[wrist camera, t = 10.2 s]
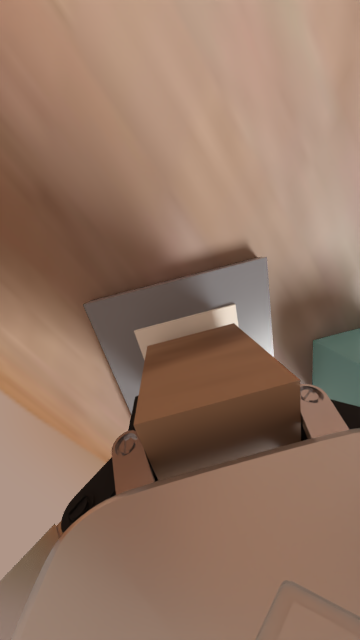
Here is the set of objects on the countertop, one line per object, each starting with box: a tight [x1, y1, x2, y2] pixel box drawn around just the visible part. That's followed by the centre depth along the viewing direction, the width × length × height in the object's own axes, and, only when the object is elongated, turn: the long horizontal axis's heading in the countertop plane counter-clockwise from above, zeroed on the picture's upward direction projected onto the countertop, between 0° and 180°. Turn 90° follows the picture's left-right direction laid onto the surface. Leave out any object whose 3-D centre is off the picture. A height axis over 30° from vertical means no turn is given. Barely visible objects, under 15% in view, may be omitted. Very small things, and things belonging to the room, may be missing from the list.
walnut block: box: [134, 323, 301, 481], centre depth 10 cm, size 6×6×6 cm
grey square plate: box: [83, 257, 274, 415], centre depth 15 cm, size 13×13×1 cm
